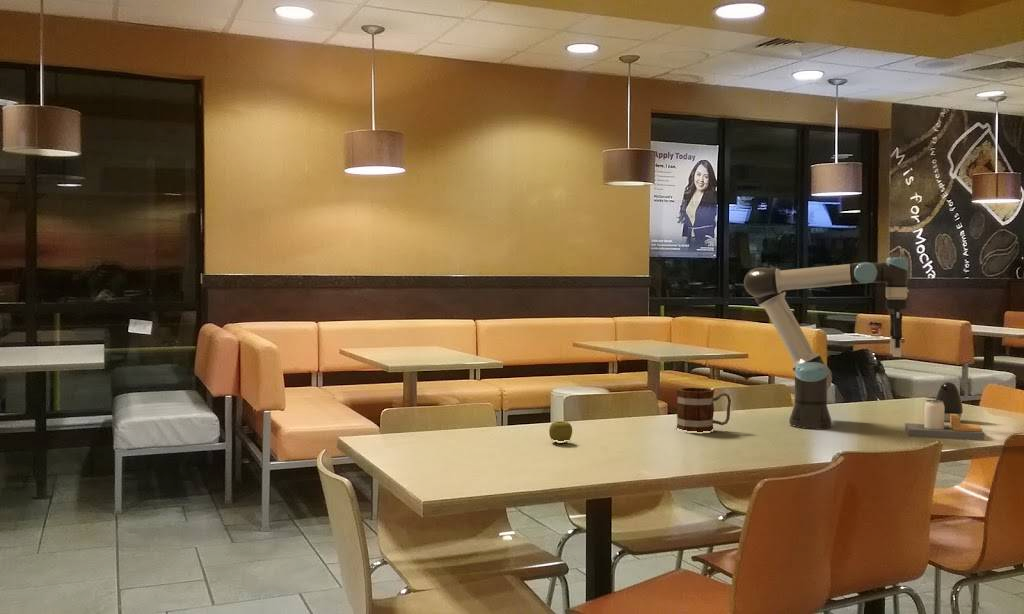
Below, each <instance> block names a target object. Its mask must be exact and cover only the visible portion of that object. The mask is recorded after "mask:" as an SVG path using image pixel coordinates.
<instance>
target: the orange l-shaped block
mask: <svg viewBox="0 0 1024 614" xmlns="http://www.w3.org/2000/svg"><path fill="white" fill-rule="evenodd" d="M949 425H950V427H951V428H952V429H953V430H959V431H979V432H982V431H983V428H982V427H981V426H980V425H979V424H972V423H970V424H969V423H961V417H959V416H958V415H957V414H950V422H949Z"/></svg>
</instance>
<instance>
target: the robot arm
mask: <svg viewBox="0 0 1024 614" xmlns="http://www.w3.org/2000/svg"><path fill="white" fill-rule="evenodd" d="M908 262H909V261H908V259H907V258H906V257H887V258H886V260H885V262H869V261H864V262H855V263H847V264H846V263H845V264H839V265H838V264H835V265H825V266H815V267H814V266H813V267H804V268H803V267H802V268H794V269H793V268H791V269H784V270H783V269H782V270H781V269H779V268H776V267H774V268H770V267H755V268H752V269H750V270H749V271H748V272H747V273H746V275H745V276H744V279H743V286H744V289H745V291H746V292H747V294H749V295H750V296H752V297H753V298H754V300H755V302H756V303H757V305H758V306H759V307H760V308H763V309H764V311H765V312H766V314H767V316H768V318H769V319H770V321H771V323H772V324H773V327H774V328H775V330H776V332H777V334H778V336H779V338H780V339H781V342H782V343H783V345H784V346H785V349H786V350H787V353H788V354H789V356H790V358H791V360H792V363H793V364H792V367H791V368H792V370H793V373H794V405H793V408H792V411H791V413H790V417H789V419H788V421H789V422H788V423H790V424H791V425H795V426H799V427H805V428H804V429H809V428H824V429H830V428H832V427H833V426H832V425H833V423H832V417H831V415H830V412H829V409H828V389H829V388H830V387H831V385H832V381H833V373H832V371H831V369H830V368H829V366H827V365H826V364H825V362H824V360H823V358H822V356H821V355H820V353H816V352H815V351H814V350H813V348H812V347H811V345H810V343H809V341H808V339H807V337H806V335H805V333H804V331H803V330H802V327H801V326H800V324H799V322H798V321H797V318H796V317H795V315H794V313H793V312H792V311H793V310H792V309H791V307H790V306H789V304H788V302H787V301H786V299H785V297H786V294H787V293H786V291H792V290H802V289H812V288H823V287H834V286H844V285H845V286H846V285H848V286H849V285H858V284H859V285H860V284H871V283H875V284H876V283H877V284H878V283H881V284H882V283H883V284H884V283H885V298H886V299H885V309H886V310H891V311H890V313H889V317H890V320H889V321H890V330H889V338H890V339H889V354H891V355H892V357H894V358H896V357H897V358H902V339H903V332H902V331H903V329H902V327H903V326H902V325H903V313H902V311H901V310H907V309H908V299H907V298H908V293H910V290H909V289H908V283H909V282H908V280H909V263H908ZM791 425H790V426H791ZM799 427H798V428H799Z"/></svg>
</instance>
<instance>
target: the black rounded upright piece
mask: <svg viewBox="0 0 1024 614" xmlns="http://www.w3.org/2000/svg"><path fill="white" fill-rule="evenodd" d="M935 400H940V401H943V404H944V422H947V423H948V422H949V423H950V414H957V415H958V416H959V417H960V418H961V417H962V414H963V413H964V409H963V401H962V397H961V394H960V390H959V388H958V387H957V386H956V384H955V383H953V382H952V381H946V382H944V383H942V384H941V385H940V387H939V389H938V391H937V393H936V397H935Z"/></svg>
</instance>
